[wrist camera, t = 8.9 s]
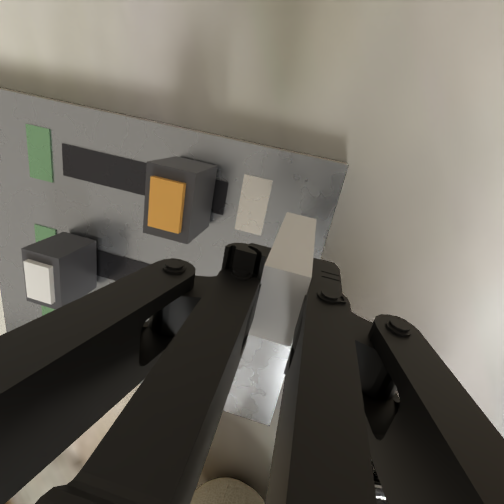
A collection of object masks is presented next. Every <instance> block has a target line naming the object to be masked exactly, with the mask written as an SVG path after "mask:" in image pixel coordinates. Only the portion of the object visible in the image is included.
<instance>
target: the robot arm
mask: <svg viewBox="0 0 504 504" xmlns="http://www.w3.org/2000/svg"><path fill="white" fill-rule="evenodd" d="M315 231H316V219H314V218H310V217H306V216H302V215H297V214H293V213H289V212H287V213H286V215H285V218H284V220H283V222H282V225H281V227H280V230H279V232H278V234H277V237H276V239H275V241H274V244H273V246H272V248H270V247H266V246H262V245H258V244H254V243H250V244H246V243H231V244H228V245H226V246H225V251H224V257H223V263H222V269H221V271H220V272H219V273H218V275H217V276H197V275H195V270H196V268H195V267H194V266H193V265H192V264H191V263H189V262H187V261H184V260H181V259H176V258H171V259H163V260H160V261H157V262H155V263H153V264H151V265H148V266H146V267H144V268H142V269H140V270H138V271H136V272H134V273H132V274H129V275H127V276H125V277H123V278H121V279H119V280H117V281H115V282H113V283H110V284H108V285H106V286H104V287H102V288H100V289H98V290H96V291H94V292H91V293H89V294H87V295H85V296H83V297H81V298H79V299H77V300H75V301H72V302H70V303H68V304H66V305H64V306H62V307H60V308H58V309H56V310H53V311H51V312H49V313H47V314H45V315H43V316H41V317H39V318H37V319H34V320H32V321H30V322H28V323H26V324H24V325H22V326H20V327H18V328H16V329H13V330H11V331H9V332H7V333H5V334H3V335H1V336H0V504H5V503H6V502H7V501H8V500H9V499H10V498H12V497H13V496H14V495H15V494H16V493H17V492H18V491H19V490H21V489H22V488H23V487H24V486H25V485H26V484H27V483H28V482H29V481H31V480H32V479H33V478H34V477H35V476H36V475H37V474H38V473H40V472H41V471H42V470H43V469H44V468H45V467H46V466H47V465H49V464H50V463H51V462H52V461H53V460H54V459H55V458H56V457H57V456H59V455H60V454H61V453H62V452H63V451H64V450H65V449H66V448H68V447H69V446H70V445H71V444H72V443H73V442H74V441H75V440H77V439H78V438H79V437H80V436H81V435H82V434H83V433H84V432H85V431H87V430H88V429H89V428H90V427H91V426H92V425H93V424H94V423H96V422H97V421H98V420H99V419H100V418H101V417H102V416H103V415H105V414H106V413H107V412H108V411H109V410H110V409H111V408H112V407H114V406H115V405H116V404H117V403H118V402H119V401H120V400H121V399H122V398H124V397H125V396H126V395H127V394H128V393H129V392H130V391H131V390H133V389H134V388H135V387H136V386H137V385H138V384H139V383H140V382H142V381H143V380H144V381H143V382H142V383H141V385H140V386H139V388H138V389H137V391H136V392H135V393H134V395H133V396H132V398H131V399H130V401H129V402H128V403H127V405H126V406H125V408H124V409H123V411H122V412H121V413H120V415H119V416H118V418H117V419H116V421H115V422H114V423H113V425H112V426H111V428H110V429H109V431H108V432H107V433H106V435H105V436H104V438H103V439H102V441H101V442H100V443H99V445H98V446H97V448H96V449H95V451H94V452H93V453H92V455H91V456H90V458H89V459H88V460H87V462H86V463H85V465H84V466H83V468H82V469H81V470H80V472H79V473H78V474H77V475H76V477H75V478H74V479H73V480H72V481H71V482H69V483H68V484H67V485H62V486H57V487H53V488H52V489H50V490H49V491H48V492H47V493H45V494H44V495H43V496H42V497H40V498H39V500H38V501H37V502H36V503H35V504H190V503H191V500H192V497H193V494H194V491H195V489H196V486H197V483H198V480H199V477H200V474H201V471H202V469H203V466H204V463H205V460H206V457H207V454H208V452H209V449H210V446H211V443H212V440H213V437H214V434H215V432H216V429H217V426H218V423H219V420H220V417H221V414H222V412H223V409H224V406H225V403H226V400H227V397H228V394H229V392H230V389H231V386H232V383H233V380H234V377H235V374H236V372H237V369H238V366H239V363H240V360H241V357H242V355H243V352H244V349H245V346H246V343H247V338H248V334H249V335H252V336H255V337H259V338H262V339H265V340H269V341H272V342H276V343H279V344H282V345H286V346H289V347H291V345H292V347H291V350H290V353H289V357H288V360H287V363H286V367H285V370H284V373H283V374H285V375H286V376H285V382H284V389H283V395H282V401H281V408H280V414H279V420H278V426H277V433H276V439H275V445H274V452H273V458H272V464H271V471H270V477H269V483H268V490H267V496H266V502H265V504H377V499H376V492H375V484H374V477H373V470H372V462H373V464H374V467H375V470H376V473H377V475H378V478H379V481H380V484H381V486H382V489H383V492H384V495H385V497H386V500H387V503H388V504H504V438H503V437H502V436H501V434H500V433H499V432H498V431H497V429H496V428H495V427H494V426H493V424H492V423H491V422H490V420H489V419H488V418H487V417H486V415H485V414H484V413H483V412H482V410H481V409H480V408H479V406H478V405H477V404H476V403H475V401H474V400H473V399H472V398H471V396H470V395H469V394H468V392H467V391H466V390H465V389H464V387H463V386H462V385H461V384H460V382H459V381H458V380H457V378H456V377H455V376H454V375H453V373H452V372H451V371H450V369H449V368H448V367H447V366H446V364H445V363H444V362H443V361H442V359H441V358H440V357H439V355H438V354H437V353H436V352H435V350H434V349H433V348H432V347H431V345H430V344H429V343H428V341H427V340H426V339H425V338H424V336H423V335H422V334H421V333H420V331H419V330H418V329H417V328H416V327H415V326H413V325H412V324H410V323H409V322H407V321H406V320H405V319H401V318H400V317H397V316H392V315H382V314H381V315H378V316H376V318H375V320H374V322H373V323H372V322H370V321H367V320H365V319H363V318H361V317H359V316H357V315H355V314H354V313H353V312H351V308H350V303H349V301H348V299H347V298H346V297H345V296H344V295H343V294H342V287H341V277H340V269H339V268H338V267H337V266H336V265H335V263H332V262H328V261H324V260H320V259H317V258H313V255H314V243H315ZM148 319H149V320H148ZM147 320H148V321H147ZM249 330H250V331H249ZM292 341H293V343H292ZM397 390H398V393H399V397H398V395H397V394H396V391H397ZM399 398H400V399H399ZM371 459H372V462H371Z"/></svg>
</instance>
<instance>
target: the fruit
mask: <svg viewBox="0 0 504 504" xmlns="http://www.w3.org/2000/svg"><path fill="white" fill-rule="evenodd" d="M190 504H265V502H264V500H263V499H262V498H261V496H260V495H259V494H258V493H257V492H256V491H255V490H254V489H253V488H251V487H250V486H248V485H247V484H245V483H243V482H241V481H240V480H237V479H233V478H216V479H213V480H210V481H208V482H206V483H204V484H203V485H201V486H200V487H199V488H198V489H196V490H195V491H194V494H193V497H192V500H191V503H190Z"/></svg>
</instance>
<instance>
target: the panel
mask: <svg viewBox="0 0 504 504" xmlns="http://www.w3.org/2000/svg"><path fill="white" fill-rule="evenodd" d="M174 156H178V157H182V158H187V159H191V160H195V161H200V162H204V163H208V164H213V165H217V166H218V167H217V174H216V181H215V188H214V195H213V202H212V209H211V216H210V223H209V227H208V228H206V229H205V230H204V231H203V232H202V233H200V234H199V235H198V236H197V237H196V238H195V239H193V240H192V241H191V242H190V243H189V244H184V243H180V242H176V241H173V240H169V239H165V238H161V237H157V236H154V235H150V234H146V233H143V219H144V201H145V183H146V165H147V161H152V160H158V159H163V158H169V157H174ZM347 169H348V164H347V163H345V162H341V161H336V160H331V159H327V158H322V157H318V156H313V155H308V154H304V153H299V152H295V151H290V150H285V149H281V148H276V147H272V146H267V145H262V144H258V143H253V142H249V141H244V140H239V139H235V138H230V137H226V136H221V135H217V134H212V133H207V132H203V131H198V130H194V129H189V128H184V127H180V126H175V125H171V124H166V123H161V122H157V121H152V120H148V119H143V118H138V117H134V116H129V115H125V114H120V113H115V112H111V111H106V110H102V109H97V108H92V107H88V106H83V105H79V104H74V103H69V102H65V101H60V100H56V99H51V98H46V97H42V96H37V95H33V94H28V93H24V92H19V91H14V90H10V89H5V88H1V87H0V289H1V296H2V303H3V310H4V317H5V324H6V331H7V332H9V331H11V330H13V329H16V328H18V327H20V326H22V325H24V324H26V323H28V322H30V321H32V320H34V319H37V318H39V317H41V316H43V315H45V314H47V313H49V312H51V311H53V310H55V309H52V308H49V307H46V306H42V305H39V304H36V303H33V302H29V301H27V299H26V289H25V280H24V271H23V262H22V252H21V248H23V247H26V246H28V245H31V244H33V243H36V242H38V241H41V240H43V239H46V238H48V237H51V236H54V235H56V234H59V233H61V232H67V233H70V234H74V235H78V236H81V237H85V238H89V239H92V240H96V255H97V287H96V288H95V289H93V290H92V291H91V292H94V291H96V290H98V289H100V288H102V287H104V286H106V285H108V284H110V283H113V282H115V281H117V280H119V279H121V278H123V277H125V276H127V275H129V274H132V273H134V272H136V271H138V270H140V269H142V268H144V267H146V266H148V265H151V264H153V263H155V262H157V261H160V260H163V259H171V258H176V259H181V260H184V261H187V262H189V263H191V264H192V265H193V266H194V267H195V268H196V270H195V275H197V276H217V275H218V273H219V272H220V271H221V269H222V263H223V257H224V251H225V246H226V245H228V244H231V243H246V244H250V243H254V244H258V245H262V246H266V247H270V248H272V246H273V244H274V241H275V239H276V237H277V234H278V232H279V230H280V227H281V225H282V222H283V220H284V218H285V215H286V213H287V212H289V213H293V214H297V215H302V216H306V217H310V218H314V219H316V231H315V243H314V255H313V258H317V259H320V258H321V255H322V251H323V248H324V245H325V241H326V238H327V235H328V231H329V228H330V225H331V222H332V218H333V215H334V212H335V208H336V205H337V202H338V198H339V195H340V192H341V188H342V185H343V182H344V179H345V175H346V172H347ZM91 292H89V293H91ZM89 293H88V294H89ZM86 295H87V294H86ZM148 320H149V319H148ZM148 320H147V321H148ZM249 331H250V330H249ZM292 343H293V341H292ZM291 347H292V345H291ZM291 347H289V346H286V345H282V344H279V343H276V342H272V341H269V340H265V339H262V338H259V337H255V336H252V335H249V334H248V338H247V343H246V346H245V349H244V352H243V355H242V357H241V360H240V363H239V366H238V369H237V372H236V374H235V377H234V380H233V383H232V386H231V389H230V392H229V394H228V397H227V400H226V403H225V406H224V409H223V411H226V412H229V413H232V414H235V415H238V416H241V417H244V418H247V419H250V420H253V421H256V422H259V423H262V424H265V425H268V426H270V423H271V420H272V416H273V413H274V410H275V407H276V403H277V400H278V397H279V393H280V390H281V387H282V383H283V380H284V377H285V374H283V373H284V370H285V367H286V363H287V360H288V357H289V353H290V350H291ZM143 381H144V380H143ZM143 381H142V382H143ZM142 382H140V384H141V383H142Z"/></svg>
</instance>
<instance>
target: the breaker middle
mask: <svg viewBox="0 0 504 504" xmlns="http://www.w3.org/2000/svg"><path fill="white" fill-rule="evenodd" d="M21 252H22V262H23V271H24V280H25V289H26V299H27V301H29V302H33V303H36V304H39V305H42V306H46V307H49V308H52V309H55V310H56V309H58V308H60V307H62V306H64V305H66V304H68V303H70V302H72V301H75V300H77V299H79V298H81V297H83V296H85V295H86V294H88V293H89V292H91V291H92V290H93V289H95V288H96V287H97V255H96V240H92V239H89V238H85V237H81V236H78V235H74V234H70V233H67V232H61V233H59V234H56V235H54V236H51V237H48V238H46V239H43V240H41V241H38V242H36V243H33V244H31V245H28V246H26V247H23V248H21Z"/></svg>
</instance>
